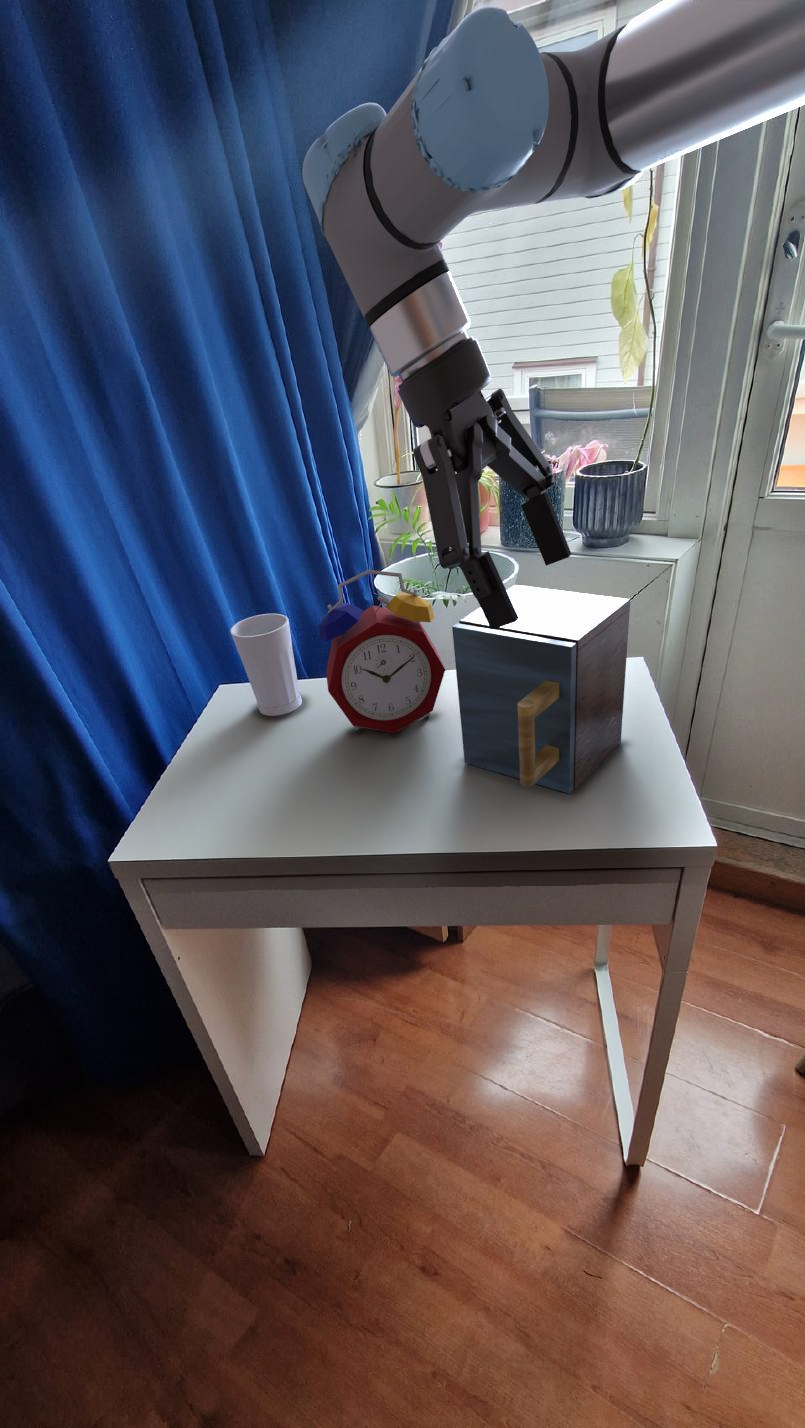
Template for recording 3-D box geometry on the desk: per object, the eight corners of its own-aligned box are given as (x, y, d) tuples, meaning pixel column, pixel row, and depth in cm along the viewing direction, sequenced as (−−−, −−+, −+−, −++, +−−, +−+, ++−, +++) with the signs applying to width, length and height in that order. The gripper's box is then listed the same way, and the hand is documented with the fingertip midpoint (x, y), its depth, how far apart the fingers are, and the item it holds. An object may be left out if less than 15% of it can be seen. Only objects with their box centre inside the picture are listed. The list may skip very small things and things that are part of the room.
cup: (312, 690, 107) (293, 611, 100) (301, 716, 101) (281, 634, 94) (261, 694, 109) (239, 616, 101) (247, 720, 103) (223, 639, 95)
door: (541, 821, 75) (539, 672, 65) (435, 786, 83) (417, 648, 72) (573, 789, 79) (576, 643, 68) (469, 758, 87) (457, 623, 76)
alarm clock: (339, 744, 94) (306, 589, 81) (335, 714, 100) (304, 567, 88) (451, 723, 94) (434, 566, 81) (439, 695, 101) (423, 545, 88)
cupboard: (574, 789, 79) (578, 640, 68) (470, 758, 87) (458, 620, 76) (621, 742, 85) (630, 599, 74) (519, 718, 93) (515, 584, 82)
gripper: (463, 342, 70) (547, 549, 80) (322, 428, 56) (446, 664, 66) (528, 297, 65) (610, 524, 75) (391, 380, 51) (514, 644, 61)
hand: (533, 590), depth 71 cm, fingers open, 13 cm apart
